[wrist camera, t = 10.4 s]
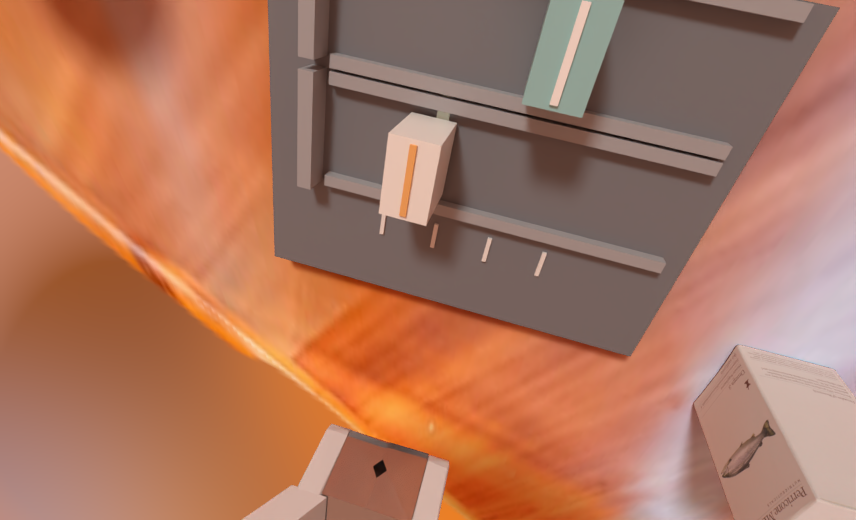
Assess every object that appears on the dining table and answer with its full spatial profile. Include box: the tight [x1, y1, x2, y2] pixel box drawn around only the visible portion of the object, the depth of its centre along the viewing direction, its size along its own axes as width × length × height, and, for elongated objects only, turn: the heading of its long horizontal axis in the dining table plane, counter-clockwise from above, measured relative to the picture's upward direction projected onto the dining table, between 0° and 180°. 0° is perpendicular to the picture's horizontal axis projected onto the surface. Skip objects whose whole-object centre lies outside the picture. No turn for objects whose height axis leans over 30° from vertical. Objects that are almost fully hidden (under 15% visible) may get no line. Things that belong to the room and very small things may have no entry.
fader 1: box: [379, 112, 457, 226], centre depth 27 cm, size 3×5×5 cm, turn 170°
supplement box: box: [694, 345, 856, 520], centre depth 30 cm, size 7×7×13 cm
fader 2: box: [522, 0, 625, 118], centre depth 22 cm, size 3×5×5 cm, turn 170°
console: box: [268, 0, 839, 356], centre depth 29 cm, size 30×24×4 cm
